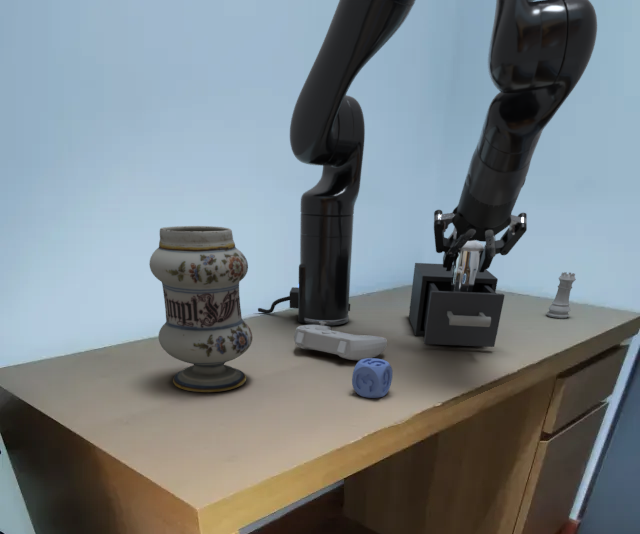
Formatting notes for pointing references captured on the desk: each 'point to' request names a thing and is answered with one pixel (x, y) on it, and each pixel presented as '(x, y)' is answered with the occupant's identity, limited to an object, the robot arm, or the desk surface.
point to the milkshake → (466, 266)
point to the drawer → (461, 315)
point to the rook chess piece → (562, 297)
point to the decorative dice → (372, 377)
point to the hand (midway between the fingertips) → (464, 266)
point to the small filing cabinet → (437, 274)
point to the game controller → (338, 342)
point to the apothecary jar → (202, 305)
